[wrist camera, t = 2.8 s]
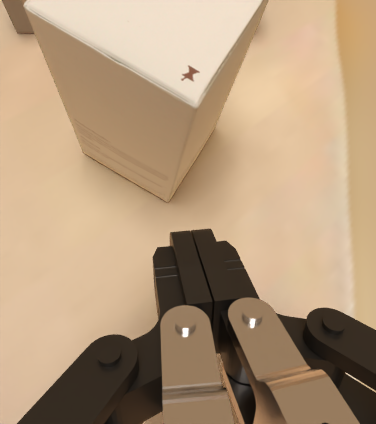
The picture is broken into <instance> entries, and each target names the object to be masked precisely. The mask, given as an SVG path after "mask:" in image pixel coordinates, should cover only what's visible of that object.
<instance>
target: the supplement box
mask: <svg viewBox="0 0 376 424" xmlns="http://www.w3.org/2000/svg"><path fill="white" fill-rule="evenodd" d="M267 3H268V0H27V1H26V2H25V3H24V5H23V6H24V9H25V11H26V14H27V16H28V18H29V21H30V23H31V26H32V28H33V31H34V33H35V36H36V38H37V40H38V43H39V45H40V48H41V50H42V53H43V55H44V57H45V60H46V62H47V65H48V67H49V70H50V72H51V75H52V77H53V79H54V82H55V84H56V87H57V89H58V92H59V94H60V97H61V99H62V102H63V104H64V106H65V109H66V111H67V114H68V116H69V119H70V121H71V123H72V126H73V128H74V131H75V133H76V136H77V139H78V141H79V143H80V146H81V148H82V151H83V153H85V154H86V155H88V156H90V157H91V158H93V159H95V160H96V161H98V162H99V163H101V164H103V165H105V166H106V167H108V168H110V169H111V170H113V171H115V172H116V173H118V174H120V175H122V176H123V177H125V178H127V179H128V180H130V181H132V182H134V183H135V184H137V185H139V186H140V187H142V188H144V189H146V190H147V191H149V192H151V193H152V194H154V195H156V196H158V197H159V198H161V199H163V200H164V201H166V202H169V201H170V199H171V198H172V196H173V194H174V193H175V191H176V190H177V188H178V186H179V185H180V183H181V182H182V180H183V179H184V177H185V175H186V174H187V172H188V171H189V169H190V168H191V166H192V165H193V163H194V161H195V160H196V158H197V157H198V155H199V153H200V152H201V150H202V148H203V147H204V145H205V143H206V142H207V140H208V138H209V137H210V135H211V134H212V132H213V130H214V128H215V126H216V124H217V121H218V119H219V116H220V114H221V112H222V109H223V107H224V104H225V102H226V100H227V97H228V95H229V93H230V90H231V88H232V86H233V83H234V81H235V78H236V76H237V74H238V72H239V69H240V67H241V65H242V62H243V60H244V58H245V55H246V53H247V50H248V48H249V46H250V43H251V41H252V39H253V36H254V34H255V31H256V29H257V27H258V24H259V22H260V19H261V17H262V14H263V12H264V10H265V7H266V5H267Z"/></svg>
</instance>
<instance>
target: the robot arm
mask: <svg viewBox="0 0 376 424" xmlns="http://www.w3.org/2000/svg"><path fill="white" fill-rule="evenodd" d="M153 270H154V288H155V296H156V305H157V313H158V322H157V324H156V325H155V327H154V328H153V329H152V330H151V331H150V332H148V333H147V334H145V335H143V336H141V337H139V338H136V339H134V340H132V341H131V340H130V339H129V338H127V337H125V336H122V335H107V336H104V337H101V338H99V339H97V340H95V341H94V342H93V343H91V344H90V345H89V346H88V347H87V348H86V350H85V351H84V352H83V353H82V354H81V355H80V356H79V357H78V358H77V359H76V360H75V361H74V362H73V364H72V365H71V366H70V367H69V368H68V369H67V370H66V371H65V372H64V373H63V374H62V375H61V377H60V378H59V379H58V380H57V381H56V382H55V383H54V384H53V385H52V386H51V387H50V388H49V389H48V391H47V392H46V393H45V394H44V395H43V396H42V397H41V398H40V399H39V400H38V401H37V402H36V404H35V405H34V406H33V407H32V408H31V409H30V410H29V411H28V412H27V413H26V414H25V415H24V416H23V418H22V419H21V420H20V421H19V422H18V423H17V424H142V423H143V422H144V421H146V420H147V419H149V418H151V417H153V416H154V415H156V414H158V413H160V412H162V411H163V424H234V419H233V414H232V409H231V404H230V400H229V396H230V399H231V401H232V404H233V407H234V410H235V413H236V415H237V418H238V421H239V424H376V393H375V392H374V391H372V390H370V389H369V388H367V387H366V386H364V385H363V384H361V383H359V382H358V381H356V380H355V379H353V378H351V377H350V376H348V375H346V374H345V372H346V373H348V374H350V375H351V376H353V377H355V378H356V379H358V380H359V381H361V382H363V383H364V384H366V385H367V386H369V387H371V388H372V389H374V390H376V330H374V329H373V328H371V327H368V326H367V325H365V324H363V323H361V322H359V321H357V320H355V319H353V318H352V317H350V316H348V315H346V314H344V313H342V312H340V311H338V310H335V309H331V308H317V309H315V310H313V311H311V312H310V313H309V314H308V316H307V319H303V318H295V317H288V316H283V315H280V314H277V313H275V311H274V310H273V308H272V307H271V306H270V305H269V304H267V303H266V302H264V301H262V300H260V299H259V297H258V295H257V293H256V290H255V288H254V286H253V284H252V282H251V280H250V278H249V276H248V274H247V272H246V270H245V269H244V265H243V263H242V261H241V260H240V257H239V255H238V253H237V251H236V249H235V248H234V247H233V246H232V245H230V244H229V243H228V242H227V241H219V242H216V239H215V237H214V235H213V232H212V230H211V229H202V230H191V232H190V231H180V232H170V246H168V247H157V249H156V251H155V254H154V256H153ZM217 353H220V354H221V358H222V361H223V368H222V376H223V379H224V382H225V385H226V388H227V390H228V392H227V390H226V388H223V386H222V382H221V377H220V372H219V367H218V362H217V356H216V354H217ZM228 393H229V396H228Z"/></svg>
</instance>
